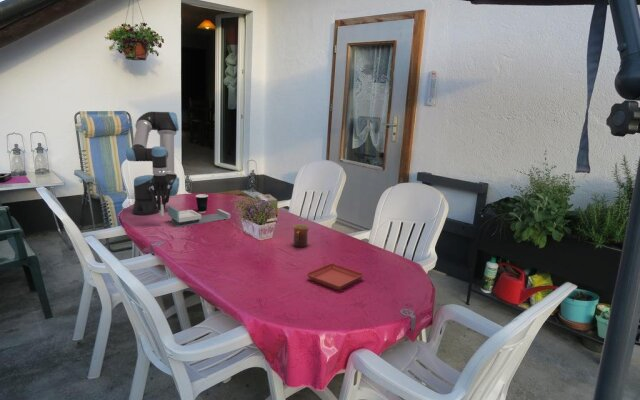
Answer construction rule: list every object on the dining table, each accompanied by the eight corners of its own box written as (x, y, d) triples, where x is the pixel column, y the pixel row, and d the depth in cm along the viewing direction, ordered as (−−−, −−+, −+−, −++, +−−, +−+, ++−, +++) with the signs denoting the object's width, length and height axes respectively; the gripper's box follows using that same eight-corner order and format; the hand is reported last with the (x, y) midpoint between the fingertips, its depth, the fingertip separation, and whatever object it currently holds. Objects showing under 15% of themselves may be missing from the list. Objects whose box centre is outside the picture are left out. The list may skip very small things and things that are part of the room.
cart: (168, 220, 257) (167, 205, 255) (191, 216, 266) (191, 202, 264) (177, 225, 247) (176, 210, 245) (201, 222, 256) (201, 207, 254)
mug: (294, 241, 231) (294, 223, 228) (310, 243, 229) (311, 225, 227) (288, 249, 219) (288, 230, 217) (305, 251, 218) (305, 231, 215)
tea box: (254, 217, 273) (254, 194, 270) (270, 216, 277) (270, 193, 274) (262, 224, 260) (262, 200, 257) (277, 222, 264) (278, 199, 261)
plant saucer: (331, 269, 197) (331, 262, 197) (364, 280, 186) (364, 273, 186) (305, 280, 184) (305, 273, 183) (339, 294, 173) (339, 286, 172)
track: (167, 221, 257) (167, 216, 256) (220, 213, 279) (219, 209, 278) (177, 227, 247) (177, 222, 246) (230, 218, 268) (230, 214, 268)
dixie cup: (202, 214, 275) (201, 197, 272) (193, 212, 279) (192, 195, 276) (211, 211, 282) (210, 195, 279) (202, 209, 285) (201, 193, 283)
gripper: (150, 176, 234) (152, 218, 240) (174, 174, 243) (175, 215, 248) (145, 174, 240) (148, 215, 245) (168, 172, 248) (170, 212, 254)
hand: (161, 215), depth 247 cm, fingers closed
